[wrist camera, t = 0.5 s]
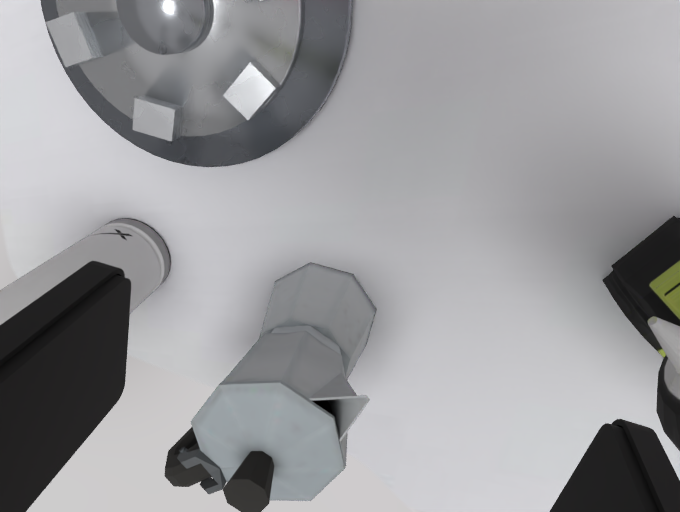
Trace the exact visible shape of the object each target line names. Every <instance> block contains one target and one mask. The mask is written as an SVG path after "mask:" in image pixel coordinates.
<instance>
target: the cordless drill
mask: <svg viewBox="0 0 680 512" xmlns="http://www.w3.org/2000/svg"><path fill="white" fill-rule="evenodd" d="M612 268H613V272H612V273H611V274H610V275H609V276H607V277H606V278H605V279H603V282H604V284H605V285H606V287H607V288H608V290H609V292H610V293H611V295H612V297H613V298H614V300H615V301H616V303H617V304H618V305H619V307H620V308H621V310H622V311H623V313H624V314H625V316H626V317H627V318H628V319H629V320H630V322H631V323H632V324H633V325H634V326H635V328H636V329H637V330H638V331H639V332H640V334H641V335H642V336H643V337H644V338H645V339H646V340H647V341H648V342H649V343H650V344H651V345H652V346H653V347H654V348H655V349H656V350H657V351H658V352H659V353H660V354H661V355H662V356H663V357H664V359H663V362H662V364H661V367H660V370H659V373H658V388H657V414H658V416H659V419H660V422H661V424H662V427H663V430H664V432H665V434H666V435H667V436H668V437H669V438H670V440H671V441H672V442H673V443H674V445H675V446H676V447H677V448H678V450H679V451H680V218H676V217H675V216H673V217H672V218H671V219H670V220H668V221H667V222H666V223H665V224H663V225H662V226H661V227H660V228H658V229H657V230H656V231H655V232H653V233H652V234H651V235H650V236H648V237H647V238H646V239H645V240H644V241H642V242H641V243H640V244H639V245H637V246H636V247H635V248H634V249H632V250H631V251H630V252H629V253H627V254H626V255H625V256H624V257H622V258H621V259H620V260H619V261H617V262H616V263H615V264H614V265H612Z"/></svg>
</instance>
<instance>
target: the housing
mask: <svg viewBox="0 0 680 512" xmlns="http://www.w3.org/2000/svg"><path fill="white" fill-rule="evenodd" d="M41 6H42V11H43V15H44V19H45V22H48V21H51V20H53V19H56V18H59V15H58V11H57V5H56V0H41ZM351 20H352V0H305V25H304V33H303V40H302V44H301V48H300V52H299V55H298V58H297V61H296V63H295V66H294V68H293V71H292V73H291V75H290V76H289V78H288V80H287V82H286V84H285V85H284V87H283V88H282V89H281V91H280V92H279V93H278V95H277V96H276V97H275V98H274V99H273V100H272V101H271V102H270V103H269V104H268V105H267V106H266V107H265V108H264V109H263V110H262V111H260V112H259V113H258V114H256V115H255V117H253V118H251V119H249V120H246V121H244V122H243V123H241V124H239V125H237V126H235V127H233V128H231V129H228V130H225V131H223V132H220V133H216V134H211V135H206V136H180V138H178V139H176V140H174V141H172V142H171V141H168V140H165V139H161V138H158V137H155V136H151V135H148V134H144V133H141V132H138V131H134V130H132V129H133V119H131V118H130V117H128V116H127V115H125V114H124V113H122V112H121V111H119V110H118V109H117V108H116V107H115V106H113V105H112V104H111V103H110V102H109V101H107V100H106V99H105V97H104V96H103V95H102V94H101V93H100V92H99V91H98V90H97V89H96V88H95V87H94V85H93V84H92V83H91V82H90V80H89V79H88V78H87V76H86V75H85V74H84V72H83V70H82V69H81V67H80V66H79V65H78V66H71V67H65V65H64V63H63V61H62V58H61V56H60V54H59V52H58V49H57V47H56V45H55V43H54V40H53V38H52V36H51V34H50V31H49V29H48V27H47V30H48V33H49V36H50V38H51V41H52V43H53V46H54V49H55V51H56V54H57V56H58V58H59V60H60V62H61V64H62V66H63V68H64V70H65V72H66V74H67V75H68V77H69V78H70V80H71V81H72V83H73V85H74V86H75V88H76V89H77V91H78V92H79V93H80V95H81V96H82V97H83V99H84V100H85V101H86V102H87V104H88V105H89V106H90V107H91V109H92V110H93V111H94V112H95V113H96V114H97V115H98V116H99V117H100V118H101V119H102V120H103V121H104V122H105V123H106V124H107V125H109V126H110V127H111V128H112V129H113V130H115V131H116V132H117V133H118V134H119V135H121V136H122V137H124V138H125V139H127V140H128V141H130V142H131V143H133V144H134V145H136V146H137V147H139V148H141V149H143V150H145V151H147V152H149V153H151V154H153V155H156V156H158V157H161V158H164V159H167V160H169V161H173V162H177V163H181V164H186V165H191V166H202V167H220V166H229V165H235V164H240V163H244V162H247V161H250V160H253V159H256V158H259V157H261V156H263V155H265V154H267V153H269V152H271V151H273V150H275V149H277V148H278V147H280V146H281V145H282V144H284V143H285V142H287V141H288V140H290V139H291V138H292V137H293V136H295V135H296V134H297V133H298V132H299V131H300V130H301V129H302V128H304V127H305V126H306V125H307V124H308V123H309V122H310V121H311V120H312V118H313V117H314V116H315V115H316V113H317V112H318V111H319V110H320V109H321V107H322V106H323V104H324V103H325V101H326V99H327V98H328V96H329V94H330V93H331V91H332V90H333V87H334V85H335V83H336V81H337V78H338V76H339V74H340V72H341V69H342V66H343V62H344V59H345V56H346V52H347V48H348V43H349V37H350V31H351ZM46 26H47V24H46Z"/></svg>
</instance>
